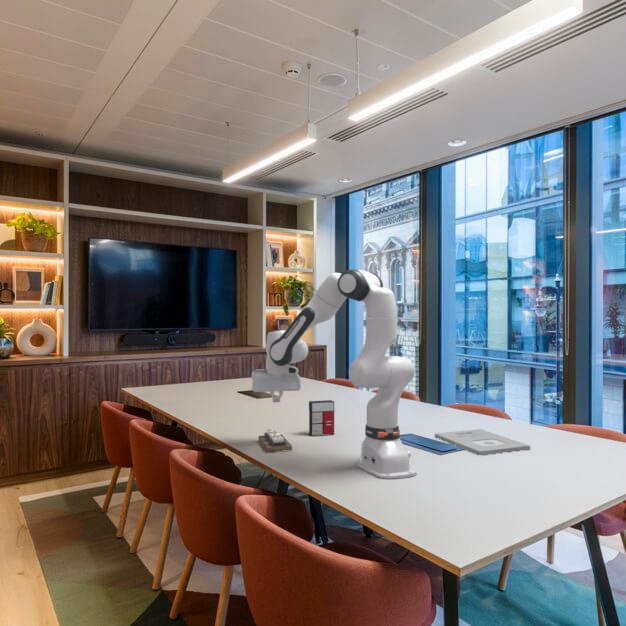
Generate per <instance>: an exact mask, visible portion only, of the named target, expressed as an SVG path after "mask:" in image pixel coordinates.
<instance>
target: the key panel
mask: <svg viewBox="0 0 626 626" xmlns="http://www.w3.org/2000/svg"><path fill="white" fill-rule="evenodd" d="M279 434H280V433H279ZM280 435H281V436H282V437H283V438H284V442H276V443H273V442H272V439H270V438H269V435H267V434H266V432H264V435H259V436H258V441H259V440H260V442H261V443H262V444H261V443H260V442H259V443H260V444H261V446H262V445H263V446H262V447H263V449H264V448H265V449H264V451H265V452H266V451H267V452H269V453H274V452H273V451H282V452H284V451H283V450H292V451H293V445H292V444H291V443H290V442H289V440H288V439H287V438H285V437H284V435H283V434H280ZM267 452H266V453H267Z"/></svg>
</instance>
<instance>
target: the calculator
mask: <svg viewBox="0 0 626 626" xmlns="http://www.w3.org/2000/svg"><path fill="white" fill-rule="evenodd" d="M308 415H309V416H308V417H309V418H308V419H309V421H308V425H309V426H308V433H309V436H311V435H321V436H323V435H322V434H334V435H335V401H334V400H331V399H329V400H310V401H309V402H308Z"/></svg>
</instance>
